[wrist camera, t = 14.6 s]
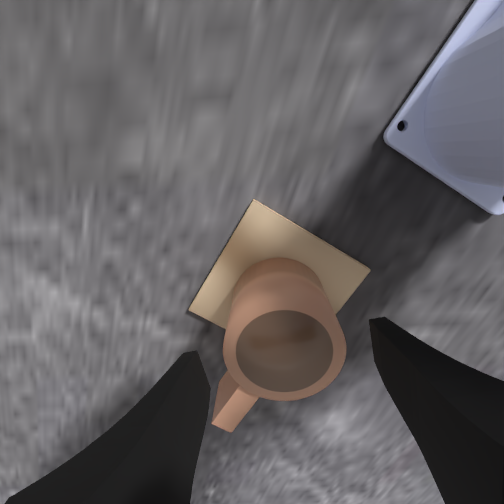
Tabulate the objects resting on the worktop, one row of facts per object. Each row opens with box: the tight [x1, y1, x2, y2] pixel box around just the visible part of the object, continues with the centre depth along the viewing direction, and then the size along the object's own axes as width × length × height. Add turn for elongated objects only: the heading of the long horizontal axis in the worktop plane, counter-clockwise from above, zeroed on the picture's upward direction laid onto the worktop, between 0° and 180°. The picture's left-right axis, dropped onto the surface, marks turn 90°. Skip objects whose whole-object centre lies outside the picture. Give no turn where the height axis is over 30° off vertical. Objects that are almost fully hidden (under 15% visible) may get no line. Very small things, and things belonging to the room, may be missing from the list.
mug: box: [211, 258, 346, 433], centre depth 16 cm, size 9×6×5 cm, turn 149°
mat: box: [189, 199, 371, 329], centre depth 18 cm, size 8×8×1 cm
